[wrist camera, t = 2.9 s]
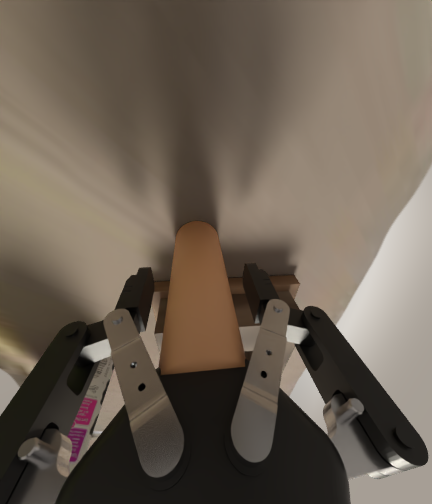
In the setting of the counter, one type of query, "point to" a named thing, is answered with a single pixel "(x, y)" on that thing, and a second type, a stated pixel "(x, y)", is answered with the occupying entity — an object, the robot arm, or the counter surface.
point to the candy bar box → (89, 412)
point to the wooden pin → (199, 307)
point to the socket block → (248, 329)
